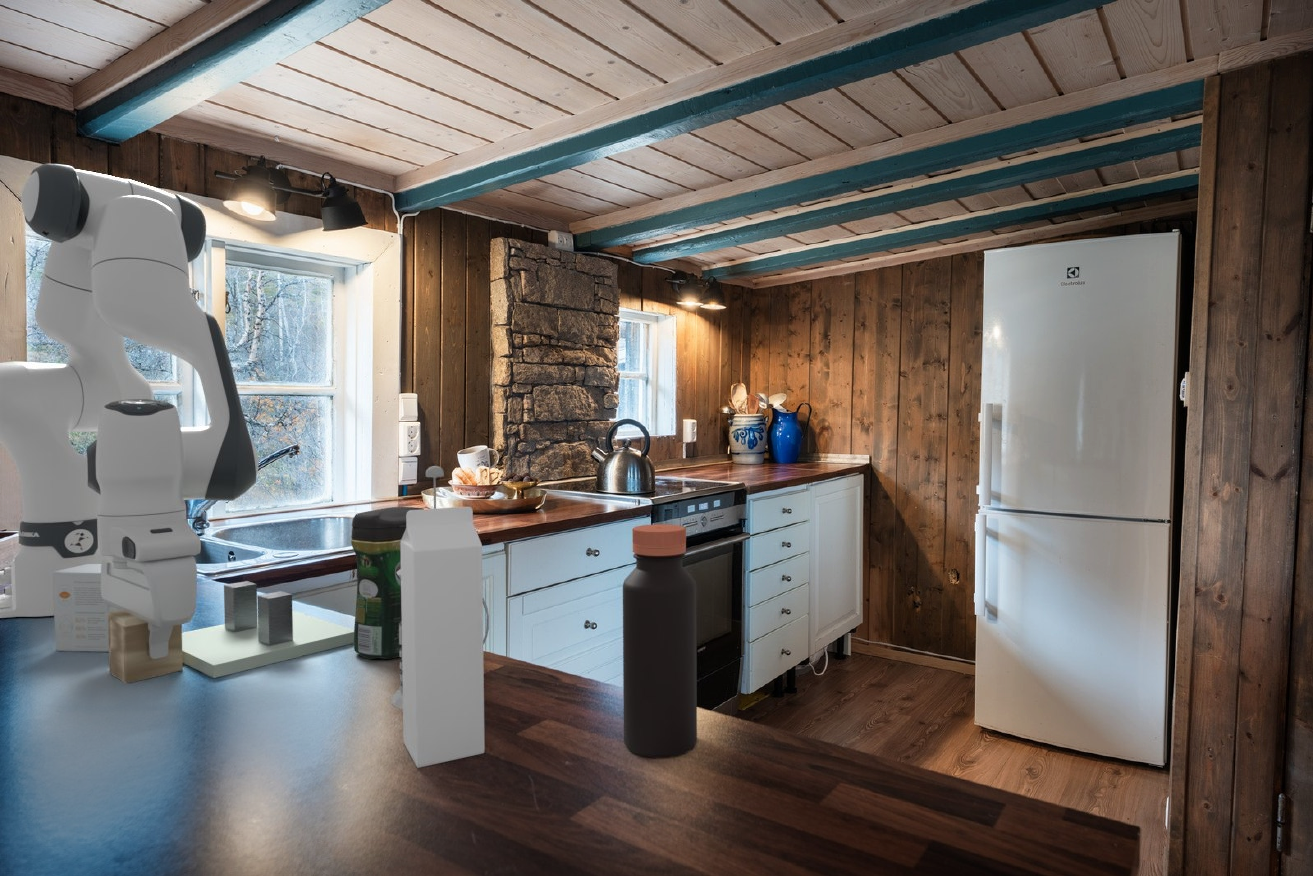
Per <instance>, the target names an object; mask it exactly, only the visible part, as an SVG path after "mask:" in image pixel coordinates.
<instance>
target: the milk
mask: <svg viewBox="0 0 1313 876" xmlns="http://www.w3.org/2000/svg"><path fill="white" fill-rule="evenodd" d="M473 511H474V510H473V508H472V507H471V506H460V507H459V506H458V507H457V506H456V507H441V508H436V509H434V508H427V509H425V508H423V510H410V511H408V512H407V514H406V530H405V532H404V535H403V537H402V539H401V542H400V546H401V611H402V657H401V659H402V669H401V670H402V676H403V710H402V727H403V728H402V729H403V733H402V734H403V735H402V736H403V745H404V746H405V748H406V750H407V751H408V753H409V755H410V756H411V759H412V761H413V762H414V764H415V766H416V767H417V769H420V768H424V767H429V766H432V765H438V764H441V763H446V762H450V761H455V760H460V759H464V758H468V757H473V756H478V755H482V754H484V753H485V688H484V687H485V685H484V684H485V683H484V682H485V681H484V680H485V677H484V667H485V666H484V645H483V640H484V605H483V598H484V597H483V595H484V594H483V591H484V590H483V545H482V544H483V543H482V542H481V539H480V537H479V534H478V532H477V529H476V526H475V525H474V517H473V516H474V514H473V513H474V512H473Z"/></svg>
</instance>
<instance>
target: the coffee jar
mask: <svg viewBox="0 0 1313 876" xmlns="http://www.w3.org/2000/svg"><path fill="white" fill-rule="evenodd" d="M423 509H424V508H422V507H412V506H392V507H385V508H380V509H373V510H369V511H364V512H359V513H356V514H355V515H354V517H353V518H352V520H351V521H352V523H351V527H352V529H351V535H350V536H351V539H350V542H351V546H352V549H353V551H354V554H355V557H356V565H357V566H356V567H357V581H356V583H357V584H356V601H355V602H356V603H355V616H354V617H355V618H354V629H353V630H354V643H353V651H355V653H357V654H358V655H360V657H362V658H366V659H369V660H374V659H385V660H386V659H387V660H388V659H393V658H400V657H399V650H400V648H401V647H402V645H400V644H399V623H400V622H401V621H402V611H401V579H400V578H399V576H398V575H397V573H396V572H397V571H398V570H400V569H401V546H400V542H401V539H402V537H403V535H404V532H405V530H406V514H407V512H408V511H410V510H423Z"/></svg>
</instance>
